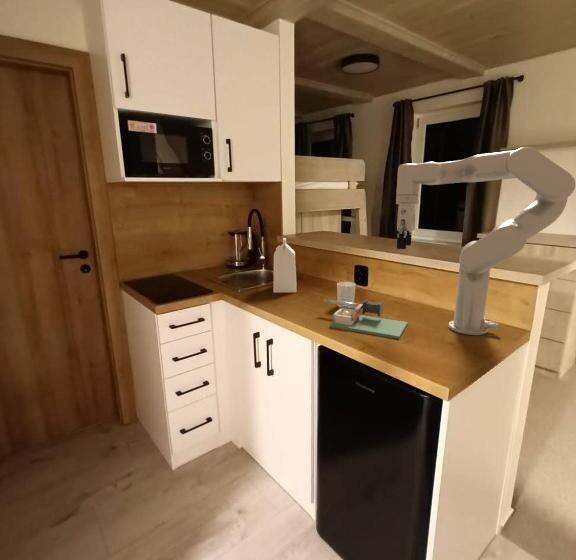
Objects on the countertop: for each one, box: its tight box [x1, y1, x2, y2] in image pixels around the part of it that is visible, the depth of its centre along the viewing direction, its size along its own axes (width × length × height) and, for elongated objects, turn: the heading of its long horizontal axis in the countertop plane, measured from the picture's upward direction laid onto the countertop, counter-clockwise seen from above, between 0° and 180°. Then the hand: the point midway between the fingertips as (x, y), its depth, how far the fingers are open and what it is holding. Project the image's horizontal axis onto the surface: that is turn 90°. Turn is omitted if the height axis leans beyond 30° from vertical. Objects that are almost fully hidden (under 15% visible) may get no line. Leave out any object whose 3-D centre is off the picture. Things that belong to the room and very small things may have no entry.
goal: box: [332, 307, 355, 325], centre depth 136 cm, size 7×9×3 cm
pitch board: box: [329, 305, 409, 340], centre depth 133 cm, size 25×15×4 cm, turn 62°
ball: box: [341, 311, 351, 317], centre depth 136 cm, size 4×4×4 cm
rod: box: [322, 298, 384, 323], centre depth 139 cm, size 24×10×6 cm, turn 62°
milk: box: [272, 237, 298, 294], centre depth 181 cm, size 12×12×26 cm
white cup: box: [336, 281, 357, 309], centre depth 155 cm, size 8×8×10 cm
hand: (403, 246), depth 133 cm, fingers open, 9 cm apart
